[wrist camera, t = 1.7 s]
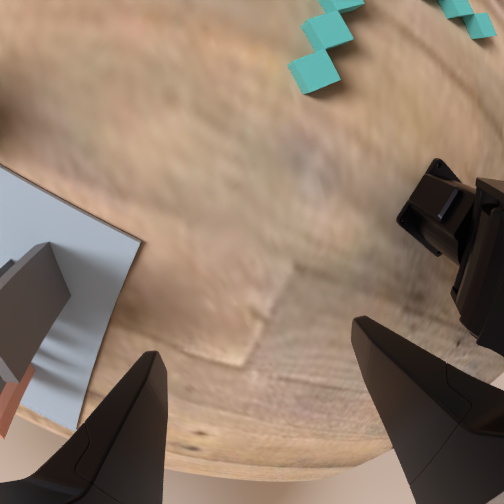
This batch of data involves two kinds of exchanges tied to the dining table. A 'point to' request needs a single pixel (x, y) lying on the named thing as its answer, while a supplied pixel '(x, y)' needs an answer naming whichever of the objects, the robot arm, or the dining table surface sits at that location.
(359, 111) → the dining table surface
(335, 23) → the alien figure
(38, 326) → the domino
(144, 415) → the robot arm
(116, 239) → the mat
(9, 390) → the domino
